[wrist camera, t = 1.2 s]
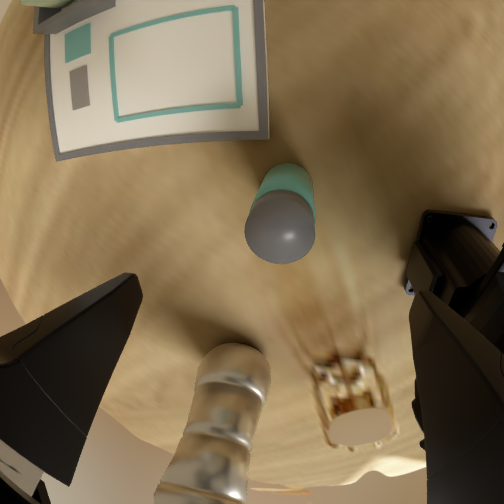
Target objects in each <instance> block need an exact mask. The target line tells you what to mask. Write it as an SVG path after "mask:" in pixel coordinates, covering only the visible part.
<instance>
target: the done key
mask: <svg viewBox="0 0 504 504" xmlns="http://www.w3.org/2000/svg"><path fill="white" fill-rule="evenodd" d="M73 1H74V0H20V2H21V3H22V4H23V5H24V6H37V7H48V8H57V9H60V8H64V7H66V6H68V5H70V4H71V3H72V2H73Z"/></svg>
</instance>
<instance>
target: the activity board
mask: <svg viewBox="0 0 504 504" xmlns="http://www.w3.org/2000/svg"><path fill="white" fill-rule="evenodd" d="M33 34H45V80H46V93H47V104H48V113H49V121H50V129H51V135H52V142H53V148H54V153H55V159H56V162H57V161H62V160H66V159H71V158H77V157H82V156H87V155H93V154H99V153H105V152H111V151H118V150H125V149H133V148H141V147H149V146H158V145H168V144H180V143H192V142H208V141H230V140H269V138H270V126H269V96H268V70H267V47H266V27H265V8H264V0H74V1H73V2H72V3H71V4H70V5H68V6H66V7H64V8H60V9H57V8H48V7H37V6H35V14H34V31H33Z"/></svg>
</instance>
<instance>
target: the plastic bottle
mask: <svg viewBox="0 0 504 504" xmlns="http://www.w3.org/2000/svg"><path fill="white" fill-rule="evenodd" d="M270 387H271V369H270V365H269V363H268V362H267V360H266V359H265V357H264V356H263V355H262V354H261V353H260V352H259V351H258V350H256V349H254V348H253V347H250V346H248V345H244V344H240V343H226V344H222V345H219V346H217V347H215V348H214V349H212V350H210V351H209V352H208V353H207V354H206V355H205V357H204V359H203V360H202V362H201V364H200V365H199V367H198V371H197V376H196V382H195V393H194V397H193V401H192V405H191V409H190V413H189V417H188V422H187V425H186V427H185V430H184V432H183V437H182V438H181V439H180V442H179V444H178V447H177V449H176V452H175V454H174V456H173V458H172V460H171V462H170V464H169V465H168V467H167V469H166V471H165V473H164V475H163V476H162V478H161V480H160V484H158V486H157V488H156V490H155V493H154V504H246V502H247V483H248V470H249V463H250V455H251V454H250V452H251V449H252V442H253V438H254V434H255V431H256V427H257V424H258V421H259V417H260V414H261V410H262V407H263V405H264V403H265V401H266V399H267V396H268V393H269V390H270Z"/></svg>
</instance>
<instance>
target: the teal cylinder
mask: <svg viewBox="0 0 504 504" xmlns="http://www.w3.org/2000/svg"><path fill="white" fill-rule="evenodd" d="M245 238H246V241H247V243H248V245H249V247H250V249H251V250H252V251H253V252H254V253H255V254H256V255H257V256H258V257H260V258H262V259H263V260H265V261H268V262H271V263H276V264H287V263H292V262H295V261H297V260H299V259H301V258H302V257H304V256H305V255H306V254H307V253H308V252H309V251H310V249H311V248H312V245H313V243H314V240H315V207H314V195H313V185H312V180H311V178H310V176H309V174H308V173H307V172H306V170H304V169H303V168H302V167H300V166H298V165H296V164H292V163H282V164H278V165H276V166H274V167H272V168H271V169H270V170H269V171H268V172H267V174H266V175H265V177H264V179H263V182H262V184H261V186H260V188H259V191H258V193H257V195H256V197H255V200H254V202H253V204H252V206H251V209H250V213H249V216H248V218H247V221H246V224H245Z"/></svg>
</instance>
